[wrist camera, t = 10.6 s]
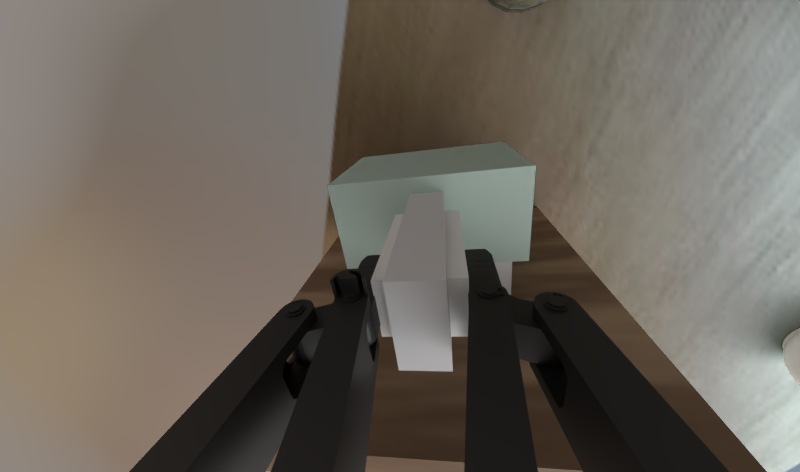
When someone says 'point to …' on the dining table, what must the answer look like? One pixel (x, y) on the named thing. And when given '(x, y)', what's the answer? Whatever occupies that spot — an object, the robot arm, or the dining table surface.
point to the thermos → (516, 4)
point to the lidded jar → (792, 354)
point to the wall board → (446, 390)
